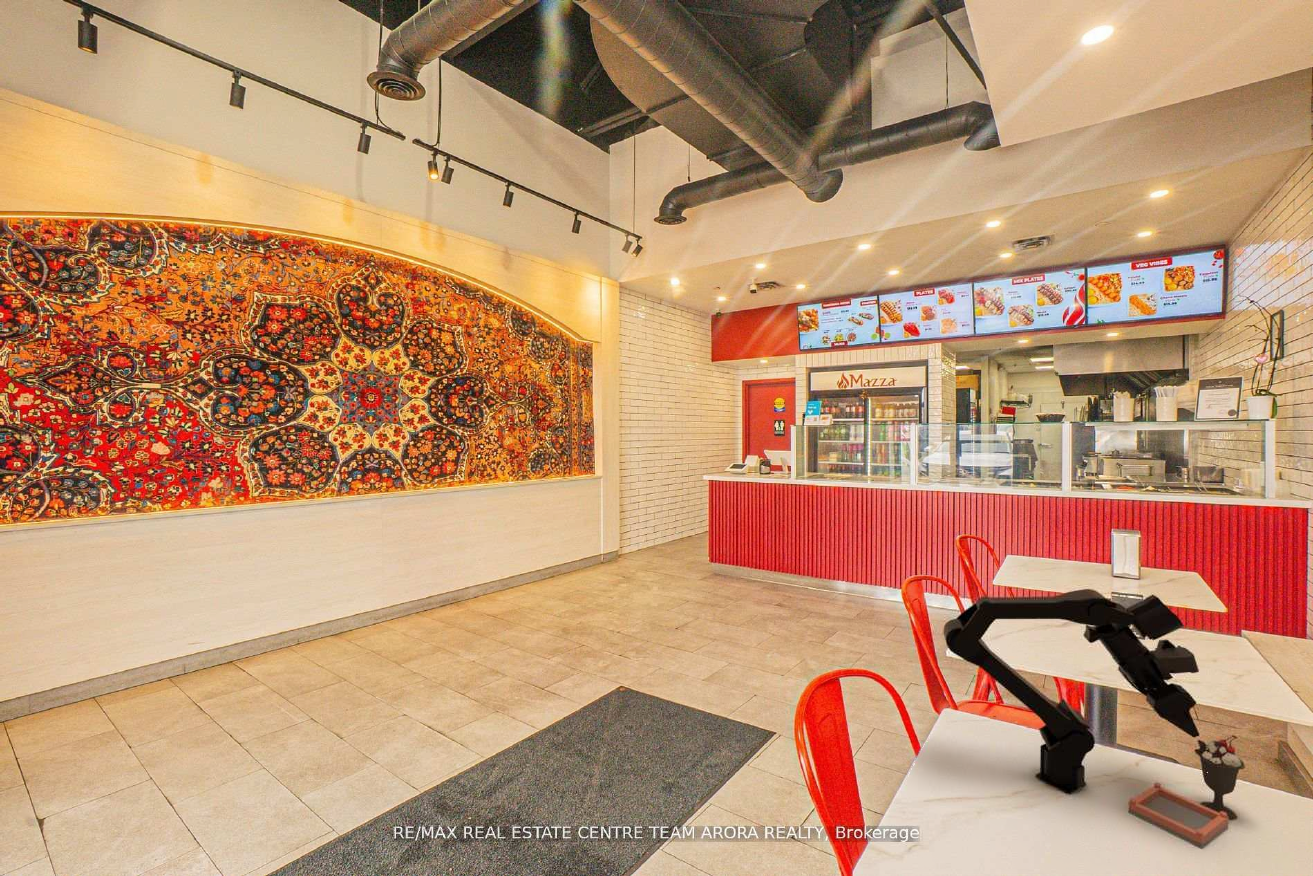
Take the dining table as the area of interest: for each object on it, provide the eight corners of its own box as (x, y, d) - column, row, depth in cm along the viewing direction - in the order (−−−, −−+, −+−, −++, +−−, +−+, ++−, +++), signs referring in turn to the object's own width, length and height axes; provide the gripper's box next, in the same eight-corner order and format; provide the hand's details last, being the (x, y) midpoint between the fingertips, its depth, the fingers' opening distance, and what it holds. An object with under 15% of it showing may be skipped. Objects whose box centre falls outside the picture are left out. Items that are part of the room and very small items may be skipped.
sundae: (1254, 825, 105) (1255, 743, 105) (1210, 820, 107) (1212, 739, 106) (1226, 802, 112) (1228, 724, 112) (1185, 797, 113) (1187, 721, 113)
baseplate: (1128, 812, 109) (1128, 798, 109) (1155, 794, 114) (1155, 781, 114) (1202, 848, 100) (1202, 833, 100) (1228, 827, 105) (1228, 813, 105)
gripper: (1194, 649, 103) (1259, 730, 100) (1150, 616, 120) (1204, 684, 117) (1129, 677, 106) (1191, 757, 103) (1096, 641, 123) (1147, 708, 121)
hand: (1184, 724), depth 111 cm, fingers open, 9 cm apart
